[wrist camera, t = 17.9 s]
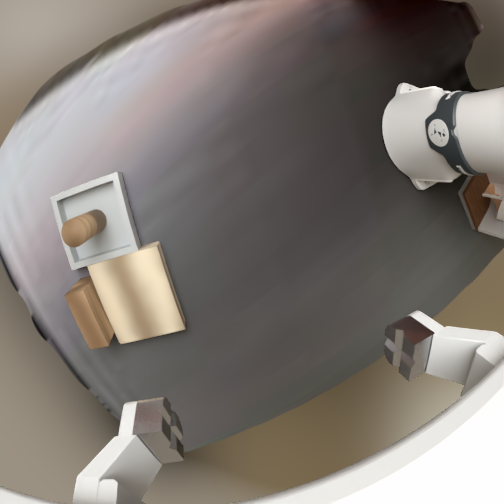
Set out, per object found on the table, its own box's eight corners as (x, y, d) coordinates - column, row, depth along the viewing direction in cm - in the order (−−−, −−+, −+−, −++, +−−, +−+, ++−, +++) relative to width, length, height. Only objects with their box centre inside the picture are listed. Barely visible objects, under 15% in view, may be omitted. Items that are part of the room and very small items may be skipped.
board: (159, 240, 36) (156, 245, 33) (185, 318, 39) (185, 329, 36) (94, 259, 34) (87, 266, 31) (124, 333, 38) (120, 344, 35)
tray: (121, 172, 32) (117, 171, 30) (141, 246, 35) (138, 250, 33) (58, 195, 30) (50, 197, 28) (78, 264, 33) (72, 270, 31)
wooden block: (97, 273, 34) (83, 290, 29) (117, 323, 37) (108, 345, 31) (80, 278, 34) (64, 295, 28) (101, 327, 36) (90, 349, 31)
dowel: (102, 206, 32) (80, 214, 24) (109, 228, 33) (89, 242, 25) (83, 213, 31) (57, 224, 24) (90, 235, 32) (66, 250, 25)
